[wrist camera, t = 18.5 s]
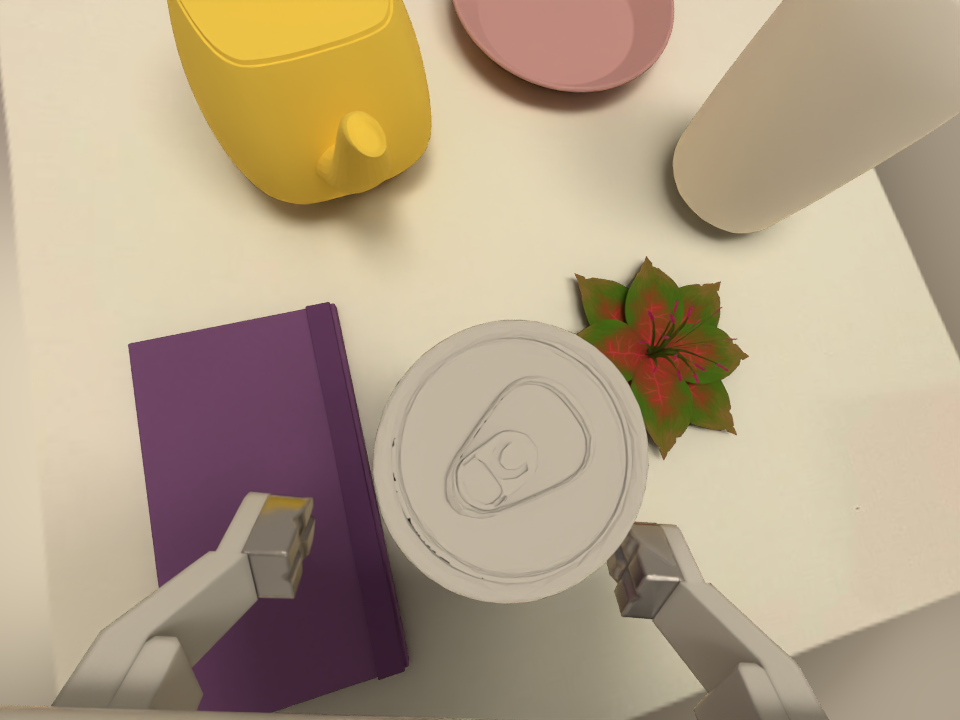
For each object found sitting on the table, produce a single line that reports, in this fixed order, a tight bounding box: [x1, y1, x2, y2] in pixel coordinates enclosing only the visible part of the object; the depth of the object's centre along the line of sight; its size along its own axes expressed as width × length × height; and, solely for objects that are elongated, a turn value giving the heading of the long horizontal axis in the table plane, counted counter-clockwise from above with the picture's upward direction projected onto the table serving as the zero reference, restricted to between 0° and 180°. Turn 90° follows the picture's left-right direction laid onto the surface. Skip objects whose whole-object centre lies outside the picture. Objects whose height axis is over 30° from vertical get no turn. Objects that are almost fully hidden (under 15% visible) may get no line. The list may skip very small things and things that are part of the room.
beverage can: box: [373, 320, 649, 604], centre depth 16 cm, size 6×6×15 cm
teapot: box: [167, 0, 431, 204], centre depth 20 cm, size 18×11×11 cm, turn 26°
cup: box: [673, 0, 960, 233], centre depth 21 cm, size 8×8×14 cm
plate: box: [452, 0, 674, 92], centre depth 28 cm, size 14×14×2 cm
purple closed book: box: [128, 302, 409, 713], centre depth 21 cm, size 18×10×1 cm, turn 14°
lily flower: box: [575, 256, 749, 460], centre depth 23 cm, size 12×12×5 cm
